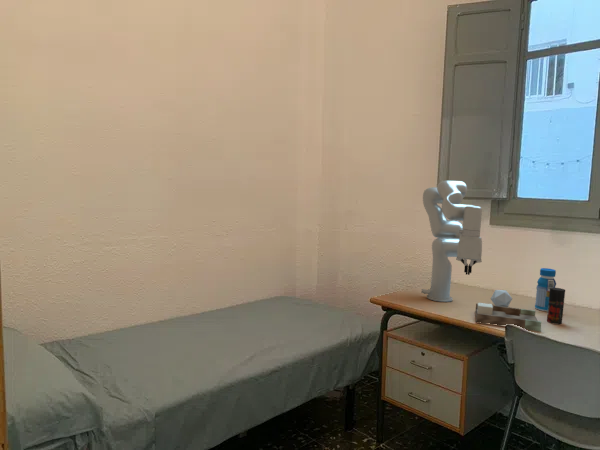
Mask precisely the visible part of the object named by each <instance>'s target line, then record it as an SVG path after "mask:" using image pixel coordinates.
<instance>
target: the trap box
mask: <svg viewBox="0 0 600 450" xmlns="http://www.w3.org/2000/svg"><path fill="white" fill-rule="evenodd" d="M492 306H493V312H492V315H487V314H479V313H477V308H478V302H477V303H475V323H476V322H481V323H490V324H497V325H506V324H514V325H517V326H520V327H522V328H525V329H528V330H527V331H532V332H534V331H535V332H541V329H542V321H540V320H538V318H537V316H536V310H534V309H533V310H532V309H525V308H516V307H509V306H508V307H501V306H495V305H494V304H492ZM481 323H480V324H481ZM525 329H524V330H525Z"/></svg>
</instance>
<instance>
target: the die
mask: <svg viewBox="0 0 600 450" xmlns="http://www.w3.org/2000/svg"><path fill="white" fill-rule="evenodd" d="M512 300H513V298H512V296H511V295H510V294H509V292H508V291H507V290H503V289H495V290H494V291H493V293H492V295H491V298H490V301H492V303H493V305H494V306H501V307H509V305H510V303H511V302H512Z"/></svg>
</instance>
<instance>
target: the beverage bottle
mask: <svg viewBox="0 0 600 450" xmlns="http://www.w3.org/2000/svg"><path fill="white" fill-rule="evenodd" d="M556 272H557V271H556V269H553V268H549V267H547V268H546V267H541V268H540V269H539V278H538V279H537V282H536V283H537V285H536V294H535V304H534V308H535V310H538V311H540V312H541V311H542V312H546V313H548V304H549V294H550V288H556V287H557V282H556V279H555V278H556V275H557V274H556Z"/></svg>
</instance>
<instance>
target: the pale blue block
mask: <svg viewBox="0 0 600 450" xmlns="http://www.w3.org/2000/svg"><path fill="white" fill-rule="evenodd" d="M477 304H478V308H477V313H479V314H487V315H492V312H493V306H494V305H493V304H492V303H484V302H483V303H482V302H477ZM492 305H493V306H492Z"/></svg>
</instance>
